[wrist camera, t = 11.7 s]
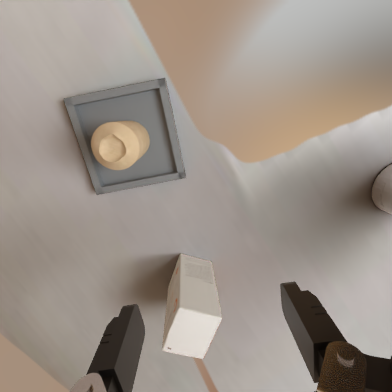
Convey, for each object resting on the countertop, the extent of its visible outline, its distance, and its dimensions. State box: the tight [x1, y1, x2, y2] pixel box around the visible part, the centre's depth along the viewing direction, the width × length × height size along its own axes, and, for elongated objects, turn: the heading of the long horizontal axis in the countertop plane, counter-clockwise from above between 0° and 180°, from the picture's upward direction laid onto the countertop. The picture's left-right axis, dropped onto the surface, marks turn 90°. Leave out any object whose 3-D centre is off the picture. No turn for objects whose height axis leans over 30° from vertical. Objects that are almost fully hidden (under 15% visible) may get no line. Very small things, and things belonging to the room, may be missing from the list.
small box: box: [162, 254, 222, 359], centre depth 38 cm, size 8×6×13 cm
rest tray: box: [64, 78, 186, 195], centre depth 35 cm, size 14×14×2 cm
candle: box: [91, 121, 150, 170], centre depth 30 cm, size 6×6×10 cm
